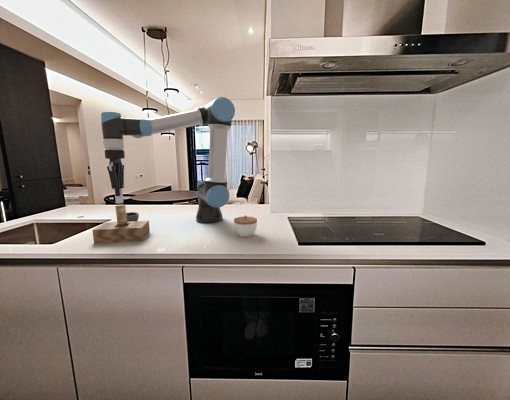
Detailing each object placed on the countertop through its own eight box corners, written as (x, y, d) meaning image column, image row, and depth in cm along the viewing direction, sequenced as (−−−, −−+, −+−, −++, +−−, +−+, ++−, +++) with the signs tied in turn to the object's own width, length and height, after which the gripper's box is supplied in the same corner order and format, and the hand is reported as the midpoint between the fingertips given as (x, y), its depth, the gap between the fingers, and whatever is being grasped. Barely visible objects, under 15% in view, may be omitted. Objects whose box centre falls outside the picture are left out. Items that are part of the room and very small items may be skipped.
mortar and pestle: (143, 225, 137) (141, 203, 135) (131, 230, 128) (129, 206, 126) (124, 224, 139) (122, 202, 137) (112, 229, 130) (109, 206, 128)
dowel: (129, 233, 119) (126, 204, 117) (126, 236, 115) (123, 206, 113) (120, 234, 119) (117, 204, 116) (116, 237, 114) (113, 206, 112)
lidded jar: (261, 234, 120) (261, 215, 118) (245, 240, 112) (245, 220, 110) (245, 230, 127) (245, 212, 125) (229, 235, 119) (229, 216, 117)
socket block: (149, 232, 124) (148, 220, 123) (142, 240, 112) (141, 227, 111) (106, 234, 121) (104, 222, 120) (94, 243, 110) (92, 229, 109)
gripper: (111, 149, 115) (116, 200, 120) (98, 149, 103) (104, 206, 107) (128, 149, 116) (133, 200, 121) (117, 149, 104) (123, 205, 108)
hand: (119, 202), depth 114 cm, fingers closed
